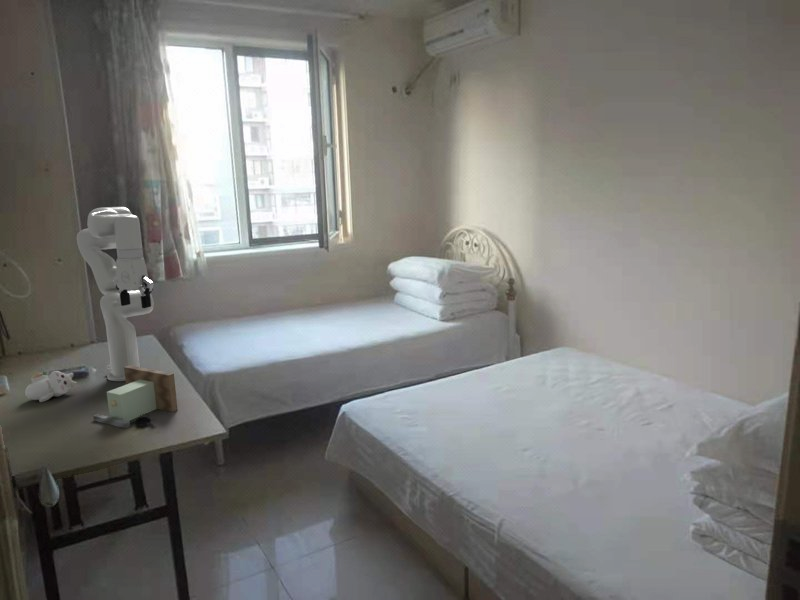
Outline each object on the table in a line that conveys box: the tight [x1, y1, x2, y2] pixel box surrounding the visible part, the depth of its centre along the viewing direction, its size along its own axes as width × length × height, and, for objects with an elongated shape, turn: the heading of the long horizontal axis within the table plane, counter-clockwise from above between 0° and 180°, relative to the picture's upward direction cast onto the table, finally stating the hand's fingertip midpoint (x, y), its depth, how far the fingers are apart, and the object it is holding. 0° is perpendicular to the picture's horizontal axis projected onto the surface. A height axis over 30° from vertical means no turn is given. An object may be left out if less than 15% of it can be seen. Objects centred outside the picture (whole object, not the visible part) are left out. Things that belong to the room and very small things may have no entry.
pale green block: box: [106, 380, 158, 422], centre depth 178 cm, size 6×13×9 cm, turn 154°
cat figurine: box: [24, 370, 78, 403], centre depth 195 cm, size 10×8×15 cm
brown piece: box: [92, 365, 178, 429], centre depth 178 cm, size 20×16×12 cm
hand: (136, 306), depth 191 cm, fingers open, 9 cm apart
